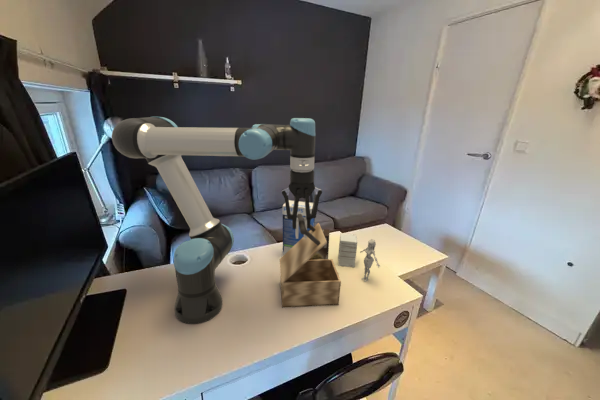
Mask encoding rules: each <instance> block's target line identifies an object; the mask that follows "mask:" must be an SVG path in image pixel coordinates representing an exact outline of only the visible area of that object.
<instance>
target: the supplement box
mask: <svg viewBox="0 0 600 400" xmlns="http://www.w3.org/2000/svg"><path fill="white" fill-rule="evenodd" d="M338 244H339V245H338V254H337V260H338V261H337V262H338V264H337V265H338V266H339V267H347V268H355V267H356V259H357V252H358V251H357V249H358V238H357V234H353V233H342V232H341V233H339V243H338Z"/></svg>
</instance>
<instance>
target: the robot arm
mask: <svg viewBox="0 0 600 400" xmlns="http://www.w3.org/2000/svg"><path fill="white" fill-rule="evenodd" d="M111 132H112V133H111V141H112V145H113V146H114V148H115V149H116V150H117V152H119V153H120V154H121V155H122V156H125V157H127V158H129V159H145V160H146V161H147V164H148V165H150V166H152V167H155V168H156V169H157V171H158V173H159V175H160V177H161V179H162V180H163V182H164V183H165V185H166V188H167V189H168V191H169V193H170V195H171V197H172V198H173V200H174V202H175V203H176V205H177V207H178V209H179V211H180V212H181V214H182V216H183V218H184V219H185V222H186V223H187V225H188V227H189V233H188V236H189V238H190V239H189V240H186V241H184V242H182V243H181V244H179V245H178V246H177V247H176V249H175V250H174V254H173V266H174V270H175V278H176V284H177V291H178V292H177V296H176V298H175V299H176V300H175V304H174V312H175V313H174V314H175V317H176V319H177V320H178V321H180V322H181V323H185V324H193V325H196V324H202V323H206V322H207V321H209V320H211V319H213V318H214V317H216V316H217V315H218V314H219V313H220V311H221V310H222V308H223V296H222V294H221V292H220V289H219V288H218V286H217V283H216V269H217V268H218V267H219V266H220V264H221V263H222V262H223V261H224V259H225V258H226V256H227V255H229V253H231V250H232V248H233V246H234V242H235V237H234V236H235V235H234V233H233V231H232V230H231V228H230V227H229V226H227V225H225V224H223V223H222V222H221V221H220V219H218V218H216V217H214V216H213V215H212V213H211V211H210V208H209V206H208V204H207V202H205V199H204V197H203V196H202V194H201V192H200V190H199V188H198V186H197V183H196V182H195V180H194V178H193V177H192V174H191V172H190V171H189V169H188V167H187V165H186V163H185V162H184V160H183V158H182V156H199V157H200V156H203V157H204V156H205V157H207V156H208V157H209V156H211V157H213V156H214V157H243V158H244V157H245V158H246V159H249V160H253V161H254V160H255V161H256V160H260V159H264V158H266V156H268V155H269V154H270V153H272V152H273V151H274V150H275V151H290V153H289V154H290V155H289V157H290V158H289V159H290V161H289V162H290V163H289V164H290V166H289V168H290V173H289V174H290V177H289V178H290V179H289V180H290V181H289V185H288V187H286V188H282V189H281V194H282V196H283V198H284V203H285V205H286V212H287V218H288V219H292V227H293V229H295V235H296V239H298V229H299V221H298V218H297V211H298V203H299V201H300V200H301V199H304V202H305V210H306V218H304V223H305V227H306V230H307V228H310V221H311V219H312V218H315V219H316V218H317V212H318V208H319V201H320V197H321V196H322V193H323V190H322V188H320V187H319V188H318V187H316V186H315V183H314V182H315V170H314V169H315V156H316V155H315V153H316V135H317V134H316V122H315V120H314V119H313V118H310V117H309V118H307V117H305V118H304V117H293V118H291V119H290V121H289V124H271V123H270V124H267V123H260V124H259V123H258V124H257V123H255V124H253V125H252V126H251V127H195V126H194V127H193V126H191V127H186V126H185V127H184V126H183V127H180V126H178V125H177V124H176V123H175V122H174V121H172V120H171V119H169V118H167V117H163V116H155V115H154V116H150V117H149V116H148V117H136V118H135V117H133V118H131V117H130V118H126V119H124V120H121V121H119V122H118V123H117V124H116V125H115V127H113V129H112V131H111ZM290 193H291V194H292V195H293V196H294V197H293V198H294V200H293V201H294V206H293V214H291V213H290V206H289V200H290V199H289V196H290ZM313 193H314V198H313V202H312V203H313V207H312V213H311V214H310V206H309V202H310V196H311V195H312V194H313ZM304 238H307V236H306V235H305V234H304Z"/></svg>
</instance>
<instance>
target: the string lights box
mask: <svg viewBox="0 0 600 400" xmlns="http://www.w3.org/2000/svg"><path fill="white" fill-rule="evenodd" d="M289 206H290V213H291V214H293V206H294V200H290V199H289ZM309 206H310V214H311V213H312V207H313V202H310V201H309ZM298 214H302V216H303V218H306V210H305V201H300V200H299V203H298V211H297V215H298ZM315 222H316V218H312V219H311V221H310V224H311V225H312V226H313V227H314V226H316V224H315ZM309 230H310V229H309V228H307V231H309ZM303 237H304V235H303V234H301V232H300V228H299V229H298V239H296V235H295V229H293V227H292V219H288V218H287V212H286V205H285V202H284V203H283V205H282V257H283V256H284V255H285V254H286V253H287V252H288V251H289V250H290V249H291V248H292V247H293V246H294V245H295V244H296V243H297V242H299V241H300V240H301V239H302V238H303Z"/></svg>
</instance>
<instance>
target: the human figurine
mask: <svg viewBox="0 0 600 400" xmlns="http://www.w3.org/2000/svg"><path fill="white" fill-rule="evenodd" d="M367 243H368V244H367V246H366V248H364V249H363V250H362V251H360V252H359V253H360V254H361V253H363V252H365V253H366V255H365V257H364V259H363V264H364V277H362V278H361V280H363V283H364V282H369V280H370V279H369V277H370V274H371V270H370V269H371V268H372V266H373V263H374V261H375V262H376V267H377V268H381V265H380V264H379V262H378V258H377V257H376V250H375V249H376V245H377V244H376V240H375V239H372V238H371V239H369V240H368V242H367ZM372 255H373V256H372Z"/></svg>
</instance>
